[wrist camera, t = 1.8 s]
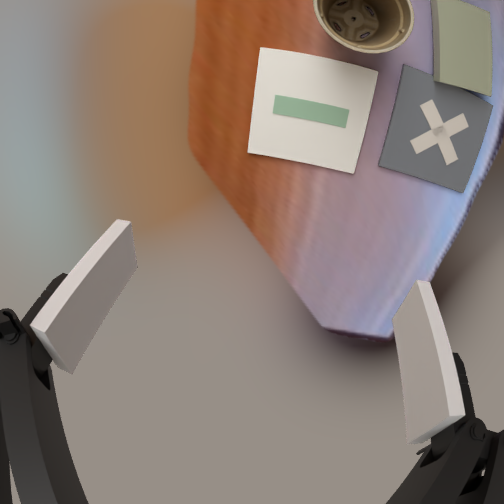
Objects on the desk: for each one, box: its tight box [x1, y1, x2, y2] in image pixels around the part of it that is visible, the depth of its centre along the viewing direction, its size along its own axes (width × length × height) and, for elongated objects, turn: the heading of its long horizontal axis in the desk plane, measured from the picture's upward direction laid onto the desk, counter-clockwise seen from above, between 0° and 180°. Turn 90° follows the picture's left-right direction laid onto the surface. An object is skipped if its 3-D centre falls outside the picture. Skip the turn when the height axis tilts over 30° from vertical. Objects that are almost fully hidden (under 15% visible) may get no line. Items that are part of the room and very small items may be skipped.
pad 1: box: [248, 47, 378, 174], centre depth 33 cm, size 14×14×1 cm
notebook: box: [431, 0, 492, 97], centre depth 21 cm, size 12×8×2 cm, turn 4°
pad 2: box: [378, 64, 493, 193], centre depth 30 cm, size 14×14×1 cm
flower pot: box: [313, 0, 414, 54], centre depth 21 cm, size 9×9×9 cm
